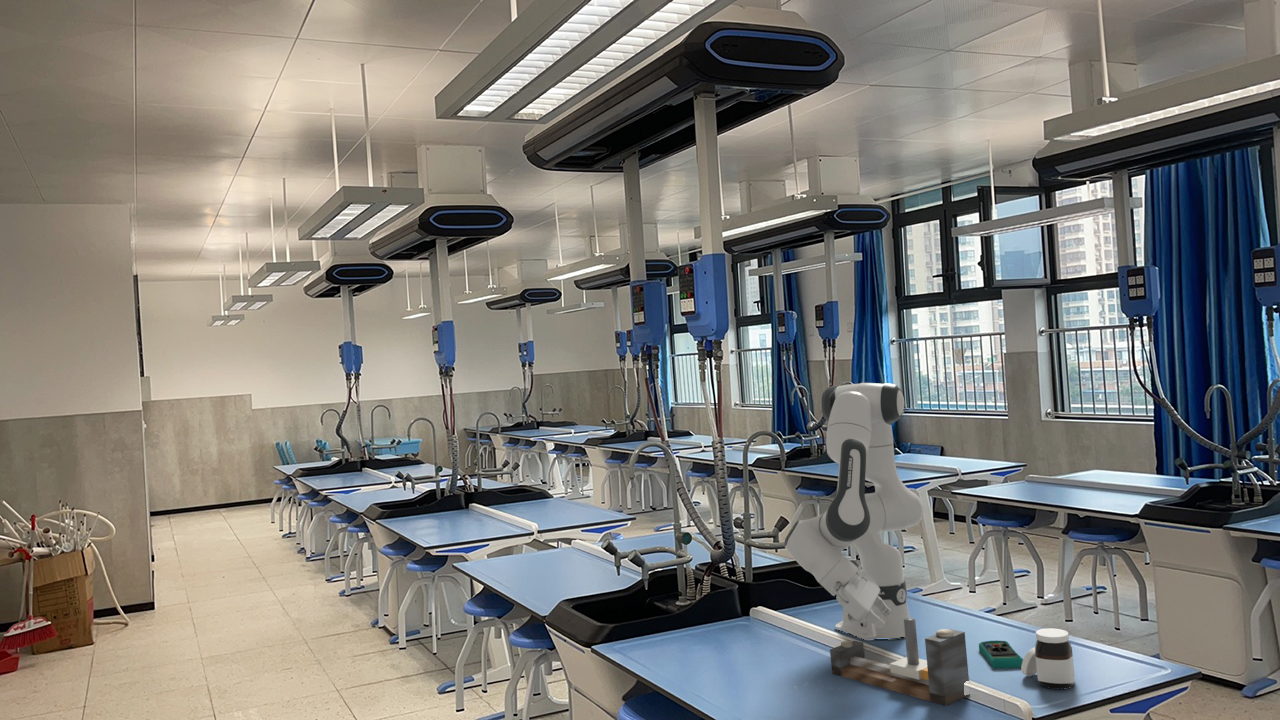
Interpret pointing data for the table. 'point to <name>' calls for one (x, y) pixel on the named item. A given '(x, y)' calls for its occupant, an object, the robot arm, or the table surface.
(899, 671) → the carriage
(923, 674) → the orange end stop block
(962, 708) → the table surface
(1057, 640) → the spread jar
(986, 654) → the digital multimeter
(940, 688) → the slider track rig
